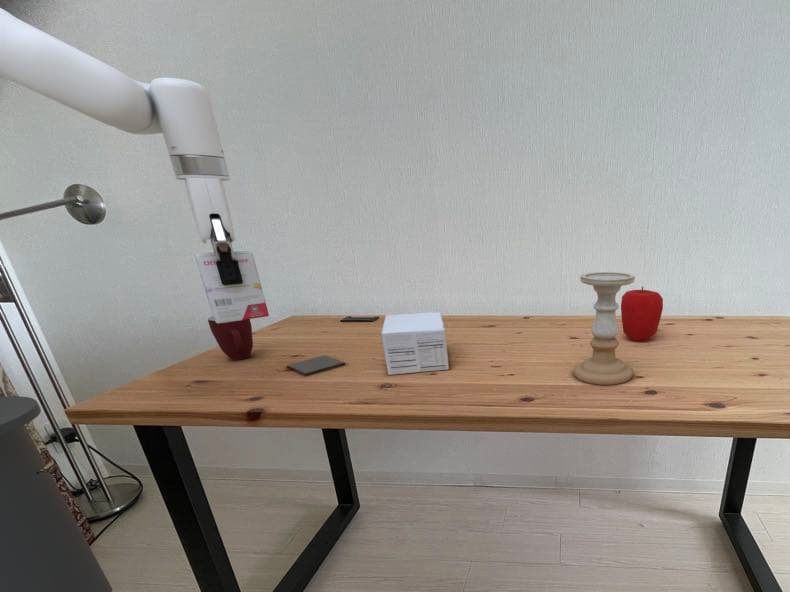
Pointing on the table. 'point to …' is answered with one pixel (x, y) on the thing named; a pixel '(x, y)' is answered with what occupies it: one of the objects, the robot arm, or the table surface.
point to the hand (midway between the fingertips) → (231, 281)
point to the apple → (641, 314)
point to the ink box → (233, 289)
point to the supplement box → (414, 343)
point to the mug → (233, 337)
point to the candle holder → (605, 332)
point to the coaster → (315, 365)
